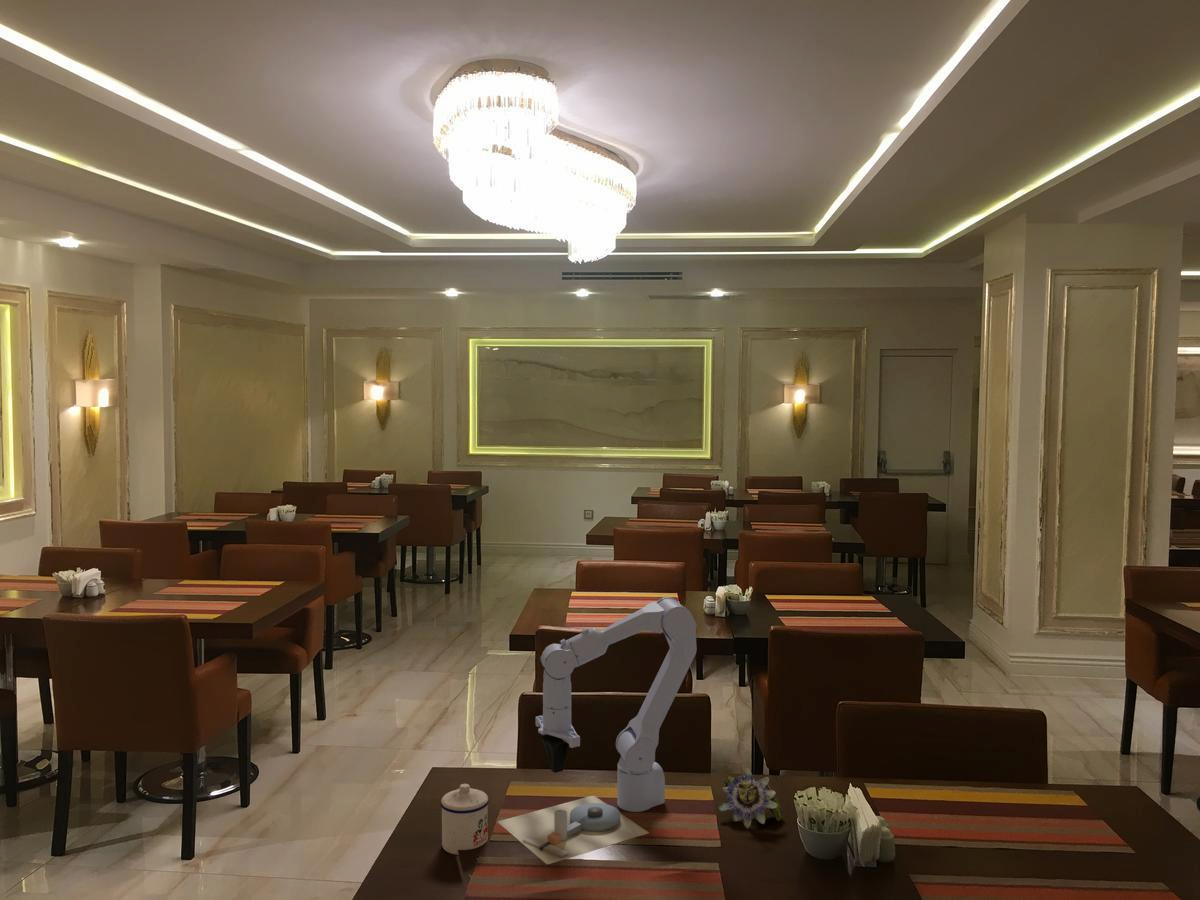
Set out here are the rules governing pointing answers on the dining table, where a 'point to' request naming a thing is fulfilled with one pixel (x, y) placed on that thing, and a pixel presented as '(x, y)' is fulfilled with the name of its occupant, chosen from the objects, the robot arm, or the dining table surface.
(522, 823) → the cream flat board
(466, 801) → the teacup with lid
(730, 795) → the passion flower
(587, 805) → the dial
